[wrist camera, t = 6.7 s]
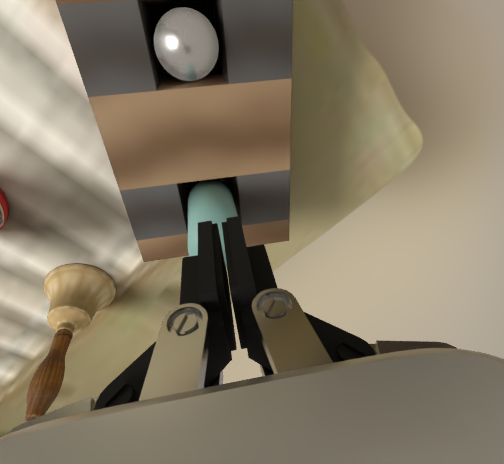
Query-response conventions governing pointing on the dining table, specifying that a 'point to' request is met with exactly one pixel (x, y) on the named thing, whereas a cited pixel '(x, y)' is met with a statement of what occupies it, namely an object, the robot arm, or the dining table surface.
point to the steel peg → (186, 44)
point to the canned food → (3, 209)
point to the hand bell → (66, 325)
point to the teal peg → (208, 210)
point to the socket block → (190, 115)
